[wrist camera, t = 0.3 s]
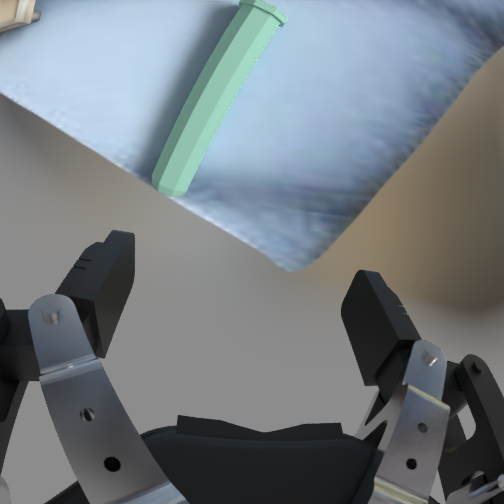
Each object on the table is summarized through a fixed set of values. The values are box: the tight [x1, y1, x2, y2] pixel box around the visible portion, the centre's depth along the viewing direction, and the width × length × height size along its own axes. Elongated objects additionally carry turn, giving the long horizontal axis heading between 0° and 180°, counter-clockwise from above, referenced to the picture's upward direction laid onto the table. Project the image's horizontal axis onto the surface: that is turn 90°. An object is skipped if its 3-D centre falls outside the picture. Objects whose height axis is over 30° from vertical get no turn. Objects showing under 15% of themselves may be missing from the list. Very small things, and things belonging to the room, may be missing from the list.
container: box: [151, 0, 288, 197], centre depth 31 cm, size 6×6×25 cm
